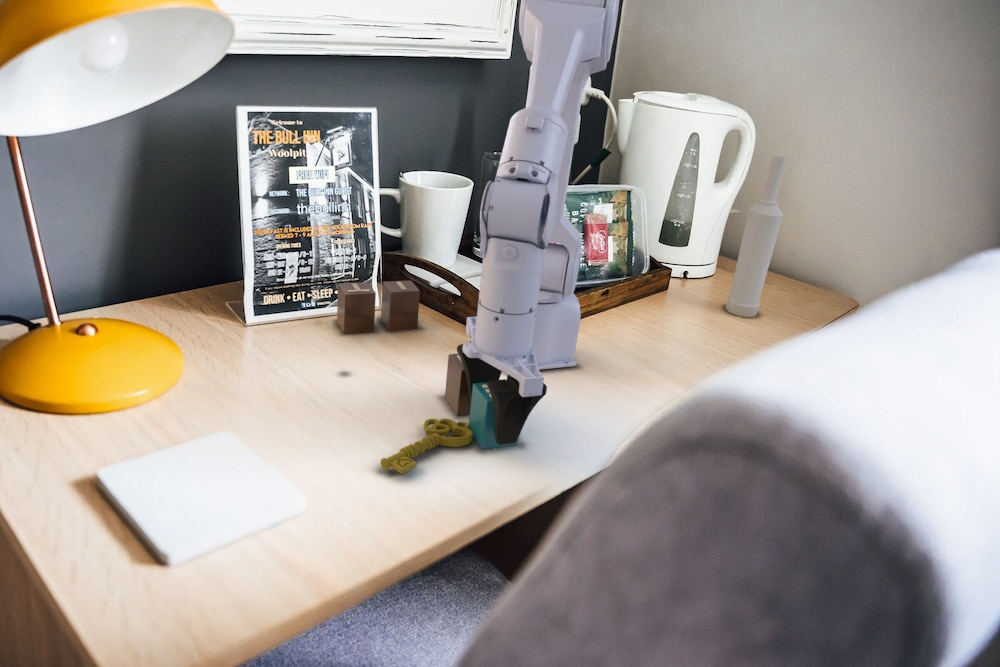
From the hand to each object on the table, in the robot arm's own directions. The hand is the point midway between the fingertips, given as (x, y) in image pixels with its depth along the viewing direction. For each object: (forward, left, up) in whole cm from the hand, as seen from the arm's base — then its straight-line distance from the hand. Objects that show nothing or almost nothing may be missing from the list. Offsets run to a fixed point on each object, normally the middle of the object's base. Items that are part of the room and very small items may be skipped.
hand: (493, 425), depth 80 cm
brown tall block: (0, -7, -1) cm, 7 cm away
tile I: (+1, -30, -1) cm, 30 cm away
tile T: (+7, -30, -1) cm, 31 cm away
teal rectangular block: (0, 0, -1) cm, 1 cm away
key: (+7, 0, -2) cm, 8 cm away
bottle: (-55, -26, -2) cm, 61 cm away
